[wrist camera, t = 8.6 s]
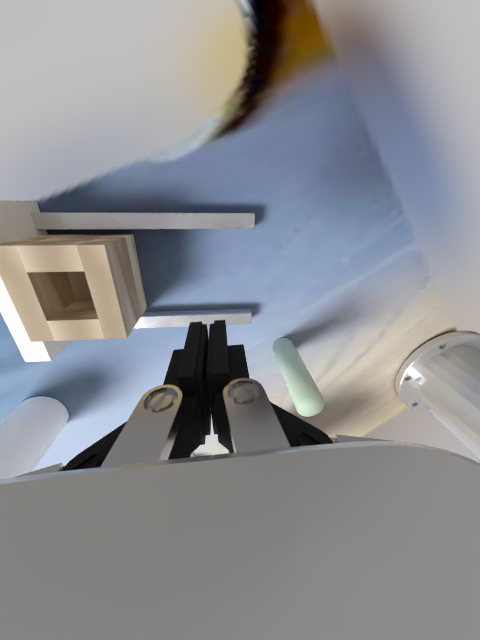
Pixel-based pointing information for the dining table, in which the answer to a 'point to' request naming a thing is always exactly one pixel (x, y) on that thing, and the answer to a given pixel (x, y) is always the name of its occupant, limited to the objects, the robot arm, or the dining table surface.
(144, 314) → the guide rails
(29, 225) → the backstop wall
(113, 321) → the socket block
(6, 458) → the white crystal
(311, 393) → the dowel
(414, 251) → the dining table surface
